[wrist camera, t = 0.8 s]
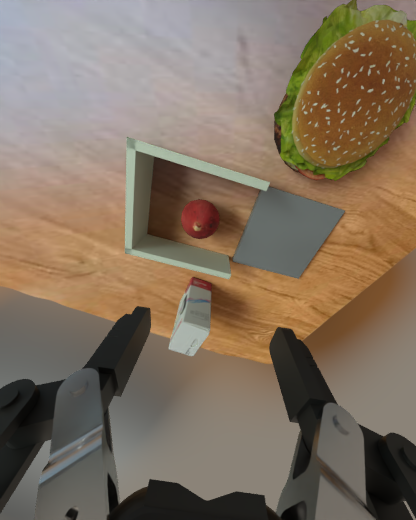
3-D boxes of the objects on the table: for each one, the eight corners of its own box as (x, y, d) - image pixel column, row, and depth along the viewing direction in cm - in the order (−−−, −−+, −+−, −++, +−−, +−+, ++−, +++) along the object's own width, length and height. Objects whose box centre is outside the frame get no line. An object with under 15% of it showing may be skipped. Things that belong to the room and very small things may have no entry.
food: (410, 87, 20) (516, 43, 13) (316, 193, 26) (353, 203, 19) (332, -7, 17) (416, -132, 10) (247, 139, 23) (261, 127, 16)
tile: (232, 258, 32) (232, 261, 31) (262, 184, 25) (264, 185, 25) (296, 275, 34) (298, 278, 33) (341, 209, 27) (345, 210, 26)
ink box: (192, 275, 35) (182, 320, 25) (212, 283, 36) (211, 330, 25) (179, 302, 39) (166, 350, 29) (198, 308, 40) (192, 358, 29)
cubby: (141, 237, 31) (124, 253, 25) (148, 144, 23) (126, 136, 18) (226, 259, 32) (229, 279, 27) (257, 179, 25) (270, 182, 19)
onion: (222, 199, 27) (224, 210, 20) (215, 232, 30) (215, 252, 23) (187, 192, 26) (177, 201, 20) (183, 226, 29) (173, 244, 22)
